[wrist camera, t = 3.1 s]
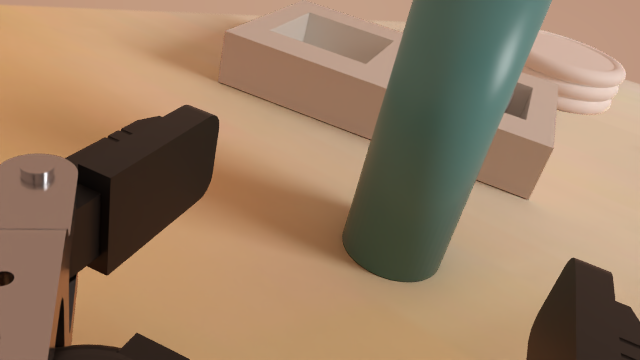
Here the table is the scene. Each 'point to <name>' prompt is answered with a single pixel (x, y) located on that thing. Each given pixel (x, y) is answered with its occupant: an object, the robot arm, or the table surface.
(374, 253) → the teal cylinder
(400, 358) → the table surface
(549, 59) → the coaster
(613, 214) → the table surface
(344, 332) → the table surface
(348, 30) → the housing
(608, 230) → the table surface
